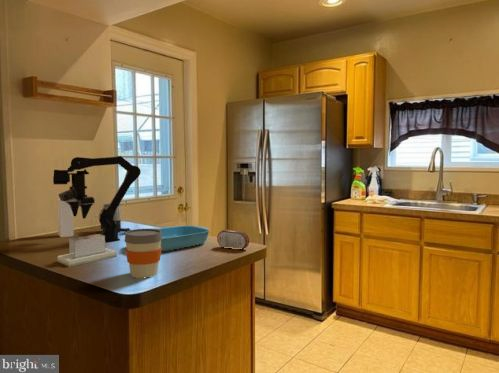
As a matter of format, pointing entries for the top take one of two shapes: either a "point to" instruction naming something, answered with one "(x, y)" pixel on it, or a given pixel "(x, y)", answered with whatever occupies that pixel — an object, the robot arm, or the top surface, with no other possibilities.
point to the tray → (86, 258)
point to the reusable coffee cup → (143, 251)
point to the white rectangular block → (86, 246)
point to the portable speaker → (233, 239)
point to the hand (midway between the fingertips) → (79, 217)
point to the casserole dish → (182, 236)
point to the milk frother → (117, 219)
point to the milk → (64, 219)
